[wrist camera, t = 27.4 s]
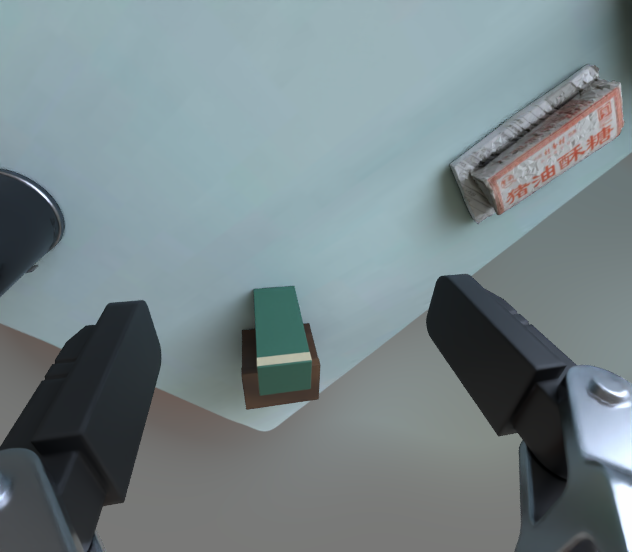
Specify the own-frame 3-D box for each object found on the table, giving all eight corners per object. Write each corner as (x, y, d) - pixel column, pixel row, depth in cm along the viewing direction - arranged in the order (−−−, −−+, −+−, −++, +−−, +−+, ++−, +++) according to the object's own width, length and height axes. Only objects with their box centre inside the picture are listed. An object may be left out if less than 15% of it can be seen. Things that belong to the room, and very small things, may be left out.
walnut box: (241, 329, 48) (241, 374, 41) (309, 322, 50) (320, 364, 43) (245, 363, 52) (246, 409, 45) (308, 355, 53) (318, 399, 46)
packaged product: (629, 59, 32) (634, 143, 38) (586, 59, 36) (597, 135, 42) (468, 175, 36) (494, 236, 41) (445, 163, 40) (471, 221, 45)
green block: (253, 292, 47) (250, 272, 35) (292, 289, 48) (302, 269, 36) (260, 385, 45) (259, 400, 32) (300, 380, 46) (315, 392, 33)
